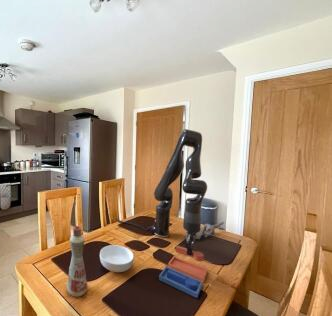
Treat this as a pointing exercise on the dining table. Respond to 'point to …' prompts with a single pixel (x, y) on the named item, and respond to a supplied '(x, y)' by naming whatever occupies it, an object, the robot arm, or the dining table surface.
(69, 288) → the bottle
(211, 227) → the spaceship
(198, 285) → the blue tray
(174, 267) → the terracotta tray
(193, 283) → the blue spoon
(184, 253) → the terracotta spoon
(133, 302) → the dining table surface
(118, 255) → the cereal bowl
